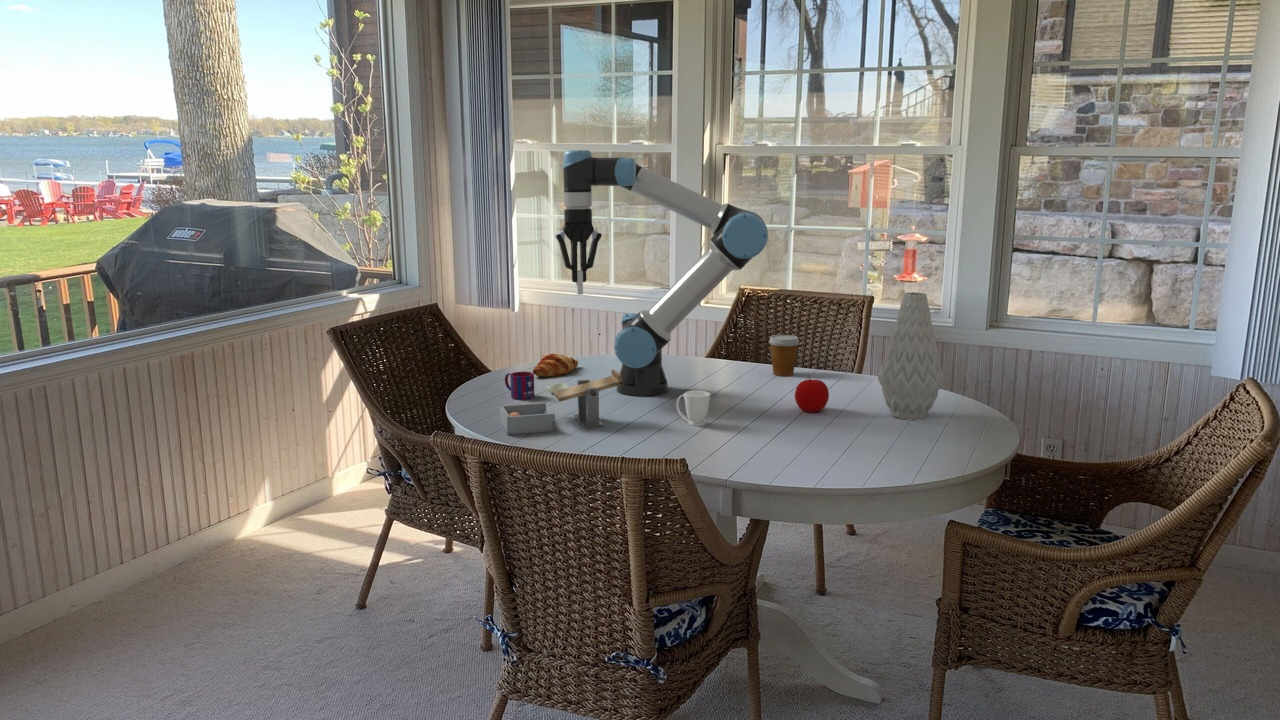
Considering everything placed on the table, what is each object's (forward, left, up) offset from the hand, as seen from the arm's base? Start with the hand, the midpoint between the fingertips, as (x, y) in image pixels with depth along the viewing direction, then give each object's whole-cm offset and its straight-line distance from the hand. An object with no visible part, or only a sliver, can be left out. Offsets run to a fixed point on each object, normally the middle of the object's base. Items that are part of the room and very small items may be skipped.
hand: (579, 293), depth 265 cm
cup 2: (-22, +32, -31) cm, 49 cm away
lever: (+4, +19, -22) cm, 30 cm away
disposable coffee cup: (-69, -13, -31) cm, 77 cm away
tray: (+20, +23, -30) cm, 43 cm away
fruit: (-57, +30, -31) cm, 71 cm away
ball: (+23, +23, -28) cm, 43 cm away
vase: (-79, +43, -31) cm, 95 cm away
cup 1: (+16, -10, -31) cm, 36 cm away
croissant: (-1, -37, -31) cm, 48 cm away
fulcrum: (+4, +23, -30) cm, 38 cm away
